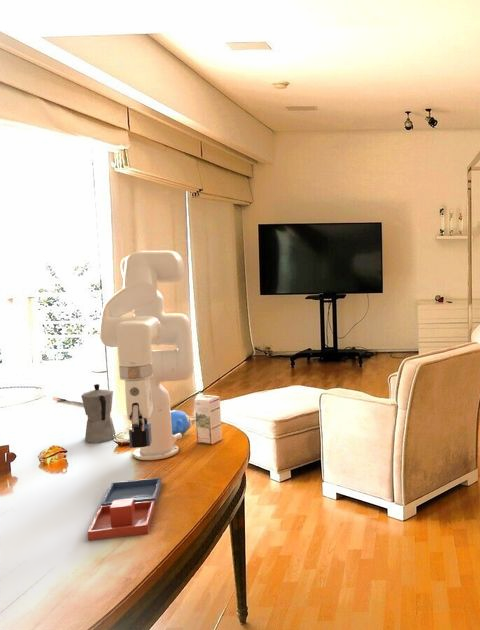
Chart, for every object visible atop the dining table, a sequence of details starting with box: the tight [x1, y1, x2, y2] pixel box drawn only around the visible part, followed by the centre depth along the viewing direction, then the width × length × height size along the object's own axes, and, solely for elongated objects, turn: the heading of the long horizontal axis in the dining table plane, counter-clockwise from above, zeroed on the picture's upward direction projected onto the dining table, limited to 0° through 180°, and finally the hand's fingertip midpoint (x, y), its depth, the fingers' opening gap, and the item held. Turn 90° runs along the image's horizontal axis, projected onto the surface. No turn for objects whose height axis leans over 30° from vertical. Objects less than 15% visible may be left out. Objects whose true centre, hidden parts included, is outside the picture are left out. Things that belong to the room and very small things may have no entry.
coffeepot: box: [80, 383, 117, 444], centre depth 217 cm, size 15×9×18 cm, turn 37°
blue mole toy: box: [171, 409, 196, 436], centre depth 222 cm, size 12×12×8 cm
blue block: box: [128, 423, 152, 449], centre depth 166 cm, size 4×4×4 cm
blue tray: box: [100, 477, 163, 507], centre depth 171 cm, size 14×12×2 cm
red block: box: [110, 498, 135, 527], centre depth 156 cm, size 4×4×4 cm
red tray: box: [87, 500, 156, 541], centre depth 156 cm, size 14×12×2 cm
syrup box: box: [194, 394, 223, 445], centre depth 214 cm, size 6×6×14 cm
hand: (141, 442), depth 167 cm, fingers closed on blue block, 4 cm apart
